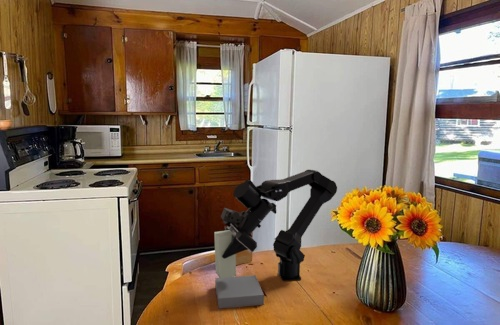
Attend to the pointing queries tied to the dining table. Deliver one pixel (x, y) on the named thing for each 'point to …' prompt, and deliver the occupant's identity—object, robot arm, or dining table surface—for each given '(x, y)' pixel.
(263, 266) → the dining table surface
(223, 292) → the plinth
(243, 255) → the small box
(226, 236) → the sage block
